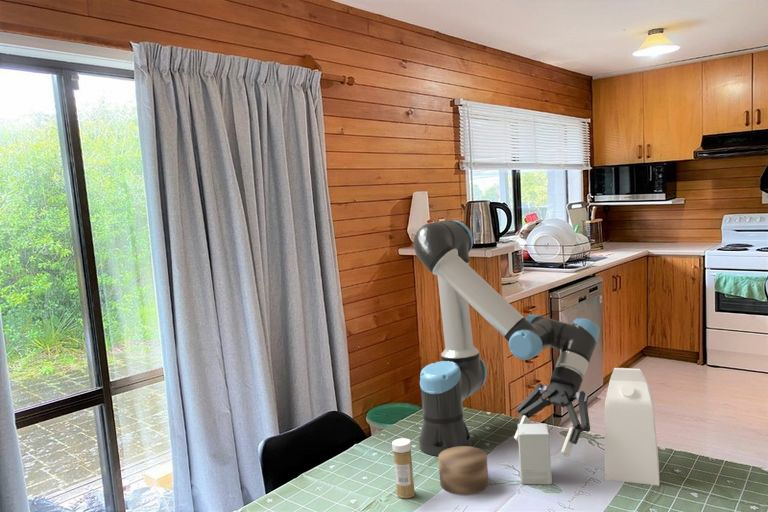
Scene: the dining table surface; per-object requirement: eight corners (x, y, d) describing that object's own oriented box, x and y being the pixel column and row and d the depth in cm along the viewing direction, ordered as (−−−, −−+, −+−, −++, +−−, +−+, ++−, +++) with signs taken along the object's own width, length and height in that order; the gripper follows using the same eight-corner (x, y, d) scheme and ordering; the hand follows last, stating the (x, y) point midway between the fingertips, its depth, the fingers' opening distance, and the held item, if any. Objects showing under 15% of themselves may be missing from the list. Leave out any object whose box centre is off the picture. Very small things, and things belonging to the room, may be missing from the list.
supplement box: (552, 485, 139) (549, 434, 138) (521, 484, 141) (517, 434, 140) (550, 471, 147) (547, 422, 146) (520, 470, 148) (517, 423, 147)
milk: (658, 464, 145) (654, 363, 143) (659, 485, 135) (654, 377, 133) (608, 459, 150) (602, 361, 148) (604, 479, 140) (599, 374, 138)
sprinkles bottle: (418, 491, 141) (413, 438, 140) (410, 500, 137) (405, 446, 136) (401, 488, 144) (397, 436, 143) (393, 497, 140) (388, 443, 139)
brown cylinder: (431, 480, 147) (429, 453, 147) (470, 468, 152) (468, 442, 152) (457, 500, 136) (454, 471, 136) (498, 486, 141) (496, 458, 141)
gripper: (620, 388, 144) (593, 467, 135) (535, 372, 163) (506, 441, 154) (608, 372, 140) (579, 453, 132) (522, 359, 159) (492, 428, 150)
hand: (540, 447), depth 143 cm, fingers open, 13 cm apart
